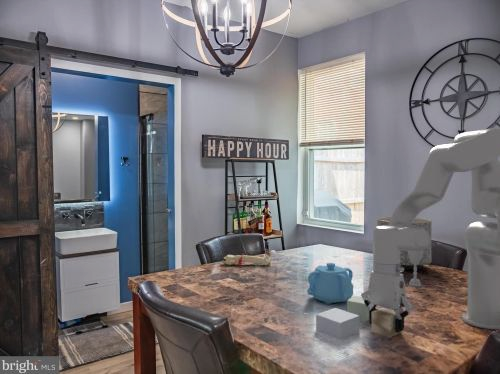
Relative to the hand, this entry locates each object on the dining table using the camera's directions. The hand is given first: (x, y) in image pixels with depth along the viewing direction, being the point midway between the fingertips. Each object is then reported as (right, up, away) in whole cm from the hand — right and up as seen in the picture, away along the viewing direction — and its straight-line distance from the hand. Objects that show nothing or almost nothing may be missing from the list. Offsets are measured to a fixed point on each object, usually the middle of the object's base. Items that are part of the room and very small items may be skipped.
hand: (386, 326), depth 117 cm
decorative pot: (-10, -1, +31) cm, 32 cm away
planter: (+36, +1, +80) cm, 88 cm away
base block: (-14, -2, +1) cm, 14 cm away
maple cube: (0, -2, 0) cm, 2 cm away
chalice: (+29, 0, +49) cm, 57 cm away
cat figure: (-42, +1, +88) cm, 98 cm away
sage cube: (-5, -1, +12) cm, 13 cm away
